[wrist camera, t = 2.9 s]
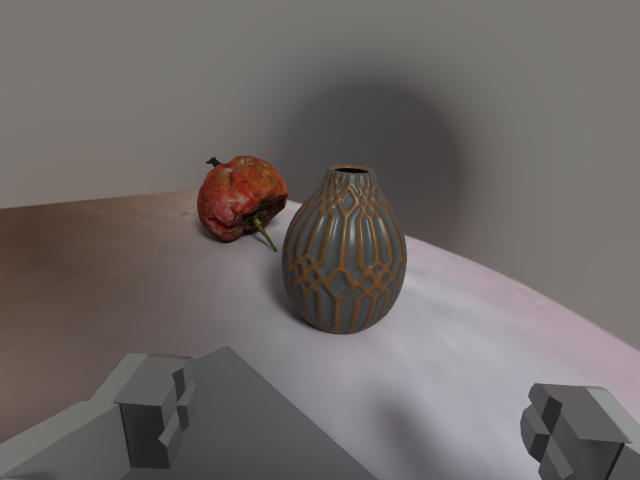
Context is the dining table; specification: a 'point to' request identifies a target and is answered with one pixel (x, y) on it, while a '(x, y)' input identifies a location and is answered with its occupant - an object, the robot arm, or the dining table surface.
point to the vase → (344, 253)
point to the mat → (250, 433)
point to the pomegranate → (240, 197)
